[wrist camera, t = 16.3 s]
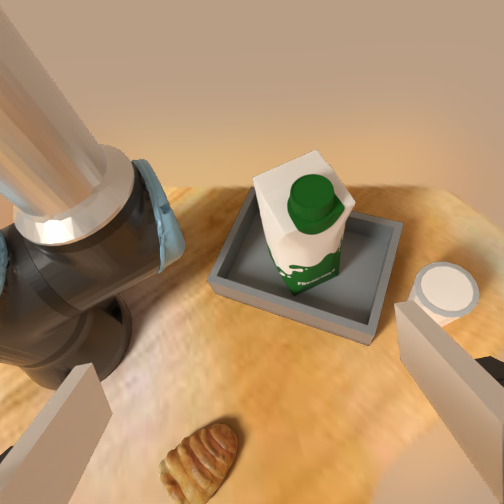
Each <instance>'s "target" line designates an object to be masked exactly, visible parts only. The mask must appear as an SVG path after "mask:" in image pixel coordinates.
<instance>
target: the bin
mask: <svg viewBox="0 0 504 504" xmlns="http://www.w3.org/2000/svg"><path fill="white" fill-rule="evenodd" d="M403 224H404V223H402V222H397V221H393V220H389V219H385V218H381V217H376V216H372V215H368V214H364V213H360V212H355V211H351V213H350V214H349V216H348V218H347V220H346V222H345V228H344V234H343V240H342V247H341V255H340V266H339V276H336V277H334V278H332V279H330V280H328V281H326V282H324V283H321V284H319V285H317V286H315V287H313V288H311V289H309V290H306V291H304V292H302V293H300V294H298V295H296V296H293V295H292V293H291V291H290V290H289V288H288V286H287V285H286V283H285V282H284V280H283V278H282V277H281V275H280V273H279V272H278V270H277V268H276V266H275V264H274V262H273V260H272V258H271V256H270V254H269V250H268V246H267V242H266V237H265V233H264V229H263V224H262V219H261V216H260V209H259V204H258V200H257V196H256V191H255V187H251V188H250V190H249V192H248V195H247V197H246V199H245V201H244V203H243V205H242V207H241V209H240V211H239V214H238V216H237V218H236V220H235V222H234V224H233V226H232V228H231V230H230V232H229V235H228V237H227V239H226V241H225V243H224V245H223V247H222V249H221V251H220V253H219V256H218V258H217V260H216V262H215V264H214V266H213V268H212V270H211V272H210V275H209V277H208V279H207V282H208V283H209V285H210V286H211V288H212V289H213V291H214V292H215V294H218V295H221V296H224V297H227V298H230V299H233V300H236V301H238V302H241V303H244V304H247V305H250V306H253V307H256V308H259V309H262V310H265V311H268V312H271V313H273V314H276V315H279V316H282V317H285V318H288V319H291V320H294V321H297V322H300V323H303V324H306V325H308V326H311V327H314V328H317V329H320V330H323V331H326V332H329V333H332V334H335V335H338V336H341V337H343V338H346V339H349V340H352V341H355V342H358V343H361V344H364V345H367V346H369V344H370V343H371V341H372V340H373V338H374V337H375V333H376V329H377V325H378V321H379V317H380V313H381V310H382V306H383V302H384V298H385V294H386V290H387V286H388V282H389V278H390V275H391V271H392V267H393V263H394V259H395V255H396V251H397V247H398V244H399V240H400V236H401V232H402V228H403Z"/></svg>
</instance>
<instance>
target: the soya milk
mask: <svg viewBox="0 0 504 504" xmlns="http://www.w3.org/2000/svg"><path fill="white" fill-rule="evenodd" d="M252 179H253V183H254V187H255V191H256V196H257V200H258V204H259V209H260V216H261V219H262V224H263V229H264V233H265V237H266V242H267V246H268V250H269V254H270V256H271V258H272V260H273V262H274V264H275V266H276V268H277V270H278V272H279V273H280V275H281V277H282V278H283V280H284V282H285V283H286V285H287V286H288V288H289V290H290V291H291V293H292V295H293V296H296V295H298V294H300V293H302V292H304V291H306V290H309V289H311V288H313V287H315V286H317V285H319V284H321V283H324V282H326V281H328V280H330V279H332V278H334V277H336V276H339V266H340V255H341V247H342V240H343V234H344V228H345V222H346V220H347V218H348V216H349V214H350V213H351V211H352V209H353V207H354V205H355V204H356V203H355V200H354V199H353V197H352V196H351V194H350V193H349V192H348V190H347V189H346V187H345V186H344V185H343V183H342V182H341V180H340V179H339V177H338V176H337V175H336V173H335V171H334V170H333V168H332V167H331V166H330V165H328V164H327V162H326V161H325V160H324V158H323V157H322V156H321V154H320V153H319V152H318V150H317V149H316V150H314V151H311V152H309V153H307V154H305V155H302V156H300V157H298V158H295V159H293V160H291V161H289V162H286V163H284V164H282V165H280V166H277V167H275V168H273V169H270V170H268V171H266V172H264V173H261V174H259V175H257V176H255V177H252Z"/></svg>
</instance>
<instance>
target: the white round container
mask: <svg viewBox="0 0 504 504" xmlns="http://www.w3.org/2000/svg"><path fill="white" fill-rule="evenodd" d="M479 294H480V292H479V289H478V285H477V282H476V281H475V279H474V278H473V277H472V276H471V274H470V273H469V272H468V271H466V270H465V269H463V268H462V267H460V266H459V265H456V264H452V263H449V262H433V263H431V264H429V265H426V266H424V267H423V268H422V269H421V270H420V271H419V272H418V274H417V275H416V278H415V280H414V283H413V286H412V288H411V291H410V293H409V296H408V299H407V301H410V300H413V301H414V302H415V303H416V304H417V305H419V306H420V307H421V308H422V309H423V310H424V311H425V312H426V313H427V314H428V315H429V316H430V317H431V318H432V319H433V320H434V321H435V322H436V323H437V324H438V325H439V326H440V327H443V326H445V325H447V324H449V323H451V322H453V321H455V320H457V319H459V318H461V317H462V316H464V315H466V314H468V313H470V312H471V311H472V310H473V309H474V308H475V307H476V305H477V304H478V300H479Z"/></svg>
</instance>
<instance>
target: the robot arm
mask: <svg viewBox="0 0 504 504" xmlns="http://www.w3.org/2000/svg"><path fill="white" fill-rule="evenodd" d="M0 193H1V194H2V195H3V196H4V197H5V198H7V199H8V200H9V201H10V202H11V203H13V204H14V207H13V220H14V223H13V224H11V225H9V226H7V227H5V228H3V229H0V362H1V363H5V364H10V365H15V366H19V367H20V368H21V369H22V370H23V371H24V372H25V373H26V374H27V375H28V376H29V377H30V378H31V379H32V380H33V381H35V382H36V383H37V384H39V385H41V386H42V387H45V388H47V389H51V390H56V392H55V393H54V395H53V396H52V397H51V398H50V400H49V401H48V402H47V404H46V405H45V406H44V408H43V409H42V410H41V411H40V413H39V414H38V415H37V417H36V418H35V419H34V421H33V422H32V423H31V425H30V426H29V427H28V428H27V430H26V431H25V432H24V434H23V435H22V436H21V438H20V439H19V440H18V441H17V443H16V444H15V445H14V446H11V447H9V448H8V449H7V450H6V451H5V452H4V453H3V454H1V455H0V504H68V503H69V501H70V499H71V497H72V495H73V493H74V491H75V489H76V487H77V485H78V483H79V481H80V479H81V476H82V474H83V472H84V470H85V468H86V466H87V464H88V462H89V460H90V458H91V456H92V454H93V452H94V450H95V448H96V446H97V444H98V442H99V440H100V438H101V436H102V434H103V432H104V430H105V428H106V426H107V424H108V422H109V420H110V418H111V416H112V414H113V413H112V411H111V409H110V406H109V404H108V401H107V399H106V396H105V394H104V391H103V389H102V386H101V384H100V382H101V381H102V380H103V379H105V378H106V377H107V376H108V375H109V374H110V373H111V372H112V371H113V370H114V369H115V368H116V367H117V365H118V364H119V363H120V361H121V360H122V358H123V356H124V354H125V352H126V350H127V348H128V345H129V341H130V337H131V330H132V323H131V316H130V312H129V310H128V307H127V305H126V304H125V302H124V301H123V300H122V299H121V298H120V297H119V296H118V294H120V293H121V292H123V291H125V290H127V289H129V288H131V287H133V286H135V285H136V284H138V283H140V282H142V281H144V280H146V279H148V278H150V277H151V276H153V275H155V274H159V273H161V272H162V271H163V269H164V268H165V267H167V266H169V265H170V264H172V263H173V262H175V261H177V260H178V259H180V258H181V257H182V255H183V253H184V251H185V241H184V238H183V235H182V232H181V229H180V227H179V224H178V222H177V219H176V217H175V215H174V212H173V210H172V209H171V207H170V204H169V202H168V200H167V197H166V194H165V192H164V190H163V188H162V186H161V184H160V182H159V180H158V178H157V176H156V175H155V172H154V171H153V169H152V167H151V165H150V164H149V163H148V161H146V160H144V159H139V160H132V161H130V160H129V159H128V157H127V156H126V155H125V154H124V153H123V152H122V151H121V150H119V149H117V148H115V147H112V146H108V145H103V144H98V143H97V141H96V140H95V138H94V137H93V136H92V134H91V133H90V132H89V130H88V128H87V127H86V126H85V124H84V123H83V121H82V120H81V119H80V118H79V116H78V115H77V113H76V112H75V110H74V109H73V107H72V106H71V105H70V103H69V102H68V100H67V99H66V98H65V96H64V95H63V93H62V92H61V90H60V89H59V88H58V86H57V85H56V83H55V82H54V81H53V79H52V78H51V76H50V75H49V74H48V72H47V71H46V69H45V68H44V67H43V65H42V64H41V62H40V61H39V60H38V58H37V57H36V55H35V54H34V53H33V51H32V50H31V48H30V47H29V45H28V44H27V43H26V41H25V40H24V38H23V37H22V36H21V34H20V33H19V31H18V30H17V28H16V27H15V26H14V24H13V23H12V22H11V20H10V19H9V17H8V16H7V14H6V13H5V12H4V10H3V9H2V7H1V6H0ZM394 306H395V315H396V325H397V334H398V344H399V353H400V360H401V362H402V363H403V365H404V366H405V367H406V369H407V370H408V372H409V373H410V375H411V376H412V377H413V379H414V380H415V382H416V383H417V385H418V386H419V388H420V389H421V390H422V392H423V393H424V395H425V396H426V398H427V399H428V400H429V402H430V403H431V405H432V406H433V408H434V409H435V411H436V412H437V413H438V415H439V416H440V418H441V419H442V421H443V422H444V424H445V425H446V426H447V428H448V429H449V431H450V432H451V433H452V435H453V436H454V438H455V439H456V441H457V442H458V444H459V445H460V447H461V448H462V449H463V451H464V452H465V454H466V455H467V457H468V458H469V459H470V461H471V462H472V464H473V465H474V467H475V468H476V470H477V471H478V472H479V474H480V475H481V477H482V478H483V480H484V481H485V483H486V484H487V485H488V487H489V488H490V490H491V491H492V493H493V494H494V496H495V497H496V498H497V500H498V501H499V503H500V504H504V362H501V361H499V360H497V359H495V358H493V357H491V356H489V357H483V358H478V359H473V358H472V357H471V356H470V355H469V354H468V353H467V352H466V351H465V350H464V349H463V348H462V347H461V346H460V345H459V344H458V343H457V342H456V341H455V340H454V339H453V338H452V337H451V336H450V335H449V334H448V333H446V332H445V331H444V330H443V329H442V328H441V327H440V326H439V325H438V324H437V323H436V322H435V321H434V320H433V319H432V318H431V317H430V316H429V315H428V314H427V313H426V312H425V311H424V310H423V309H422V308H421V307H420V306H419V305H417V304H416V303H415V302H414V301H413V300H410V301H404V302H399V303H394Z"/></svg>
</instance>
